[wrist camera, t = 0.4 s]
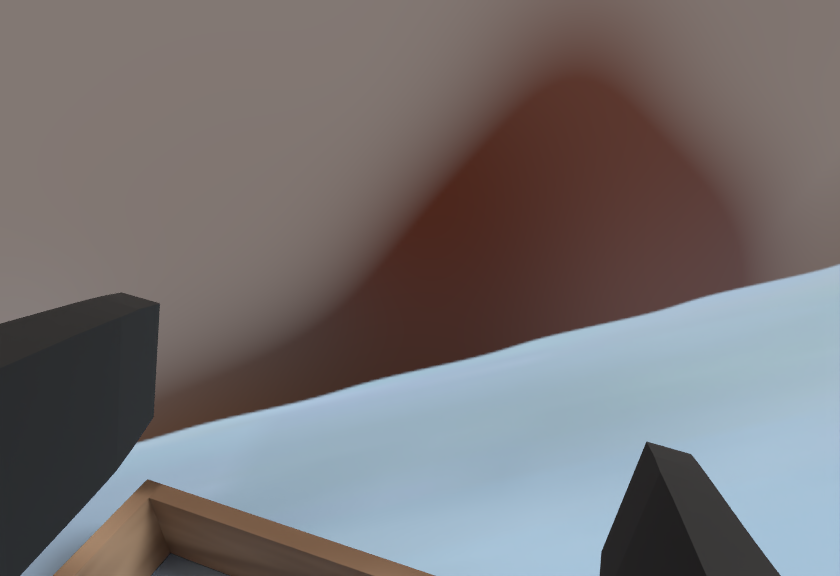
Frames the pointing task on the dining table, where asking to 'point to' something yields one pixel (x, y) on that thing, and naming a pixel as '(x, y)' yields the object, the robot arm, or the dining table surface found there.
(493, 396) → the dining table surface
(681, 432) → the dining table surface
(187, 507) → the brown u-shaped block
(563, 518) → the dining table surface
